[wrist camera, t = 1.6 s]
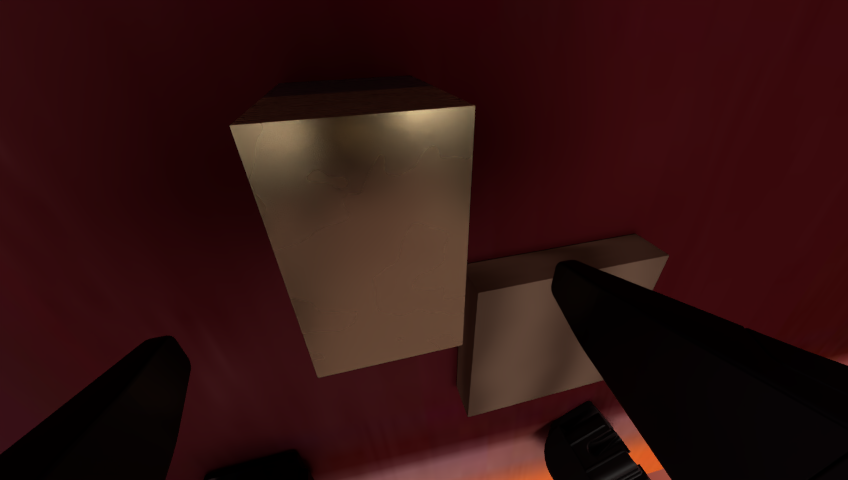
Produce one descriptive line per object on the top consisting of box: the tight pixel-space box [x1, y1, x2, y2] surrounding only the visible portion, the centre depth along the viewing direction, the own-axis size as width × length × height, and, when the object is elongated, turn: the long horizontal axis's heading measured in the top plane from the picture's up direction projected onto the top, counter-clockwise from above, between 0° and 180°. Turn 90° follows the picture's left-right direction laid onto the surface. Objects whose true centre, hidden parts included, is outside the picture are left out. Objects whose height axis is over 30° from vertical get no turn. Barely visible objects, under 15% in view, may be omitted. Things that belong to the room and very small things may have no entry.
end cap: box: [544, 401, 651, 480], centre depth 33 cm, size 10×7×7 cm
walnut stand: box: [457, 234, 669, 417], centre depth 22 cm, size 12×12×2 cm
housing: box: [230, 76, 475, 378], centre depth 12 cm, size 5×8×7 cm, turn 2°
